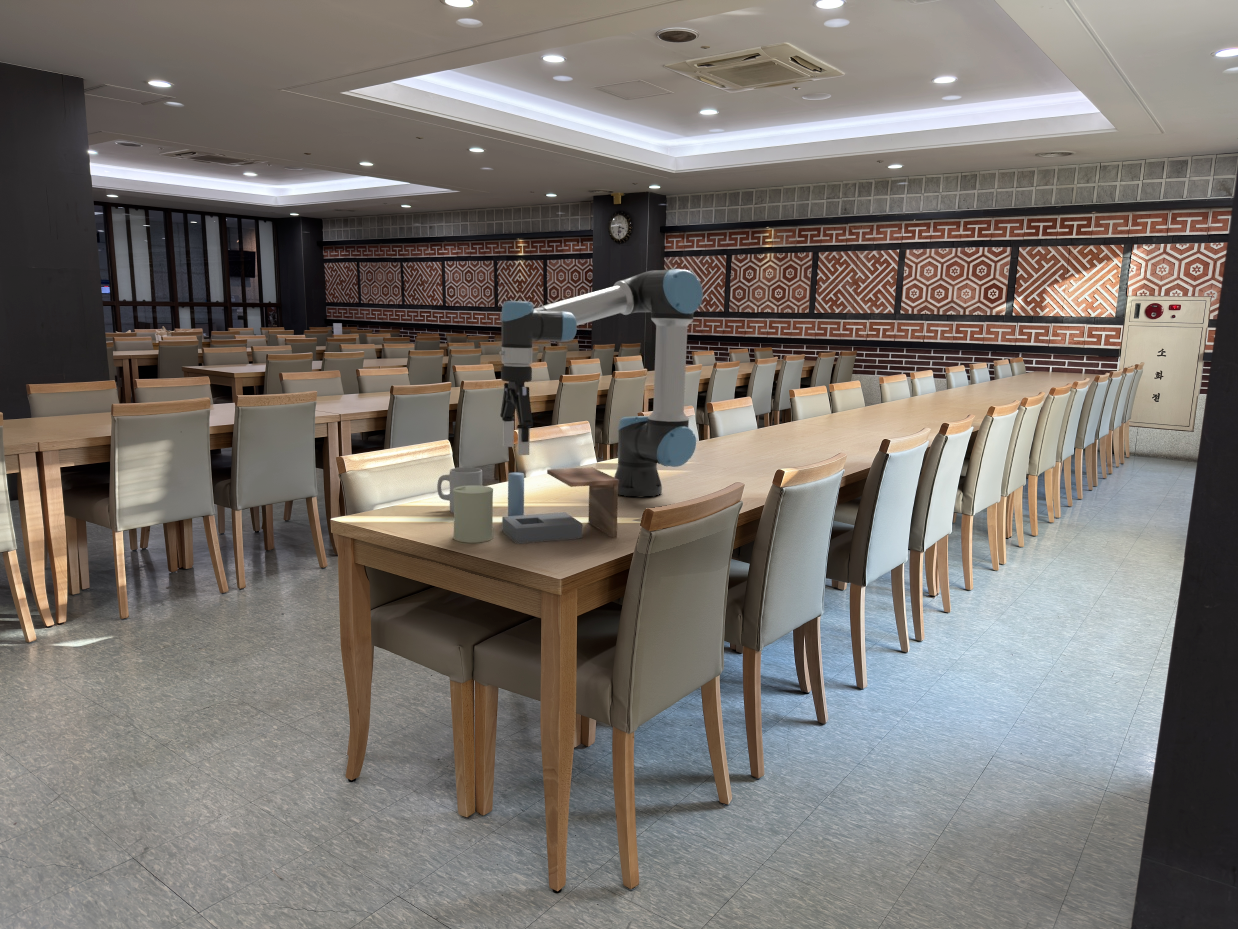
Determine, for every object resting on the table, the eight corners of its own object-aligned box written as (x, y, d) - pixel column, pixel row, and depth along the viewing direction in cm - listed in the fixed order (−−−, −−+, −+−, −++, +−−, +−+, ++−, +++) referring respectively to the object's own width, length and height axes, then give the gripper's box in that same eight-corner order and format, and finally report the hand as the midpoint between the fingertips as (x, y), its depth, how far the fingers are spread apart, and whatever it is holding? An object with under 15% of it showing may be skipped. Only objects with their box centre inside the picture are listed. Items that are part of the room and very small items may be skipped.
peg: (521, 518, 212) (521, 472, 210) (525, 521, 209) (526, 475, 207) (506, 519, 211) (506, 472, 209) (510, 522, 207) (510, 475, 205)
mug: (486, 508, 222) (486, 467, 221) (477, 515, 214) (477, 473, 212) (442, 505, 224) (442, 465, 222) (432, 512, 215) (431, 471, 213)
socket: (565, 526, 205) (565, 512, 205) (582, 538, 195) (582, 523, 194) (502, 530, 199) (502, 516, 199) (516, 543, 188) (516, 528, 188)
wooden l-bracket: (591, 521, 211) (592, 467, 208) (617, 538, 195) (619, 479, 193) (546, 524, 206) (547, 469, 204) (569, 542, 191) (570, 482, 188)
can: (455, 532, 197) (455, 483, 194) (494, 532, 197) (494, 483, 195) (451, 542, 187) (450, 491, 185) (492, 543, 188) (492, 491, 186)
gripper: (488, 362, 213) (488, 443, 216) (516, 368, 190) (515, 459, 194) (517, 362, 216) (516, 443, 219) (547, 368, 193) (545, 458, 197)
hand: (515, 450), depth 207 cm, fingers open, 13 cm apart
